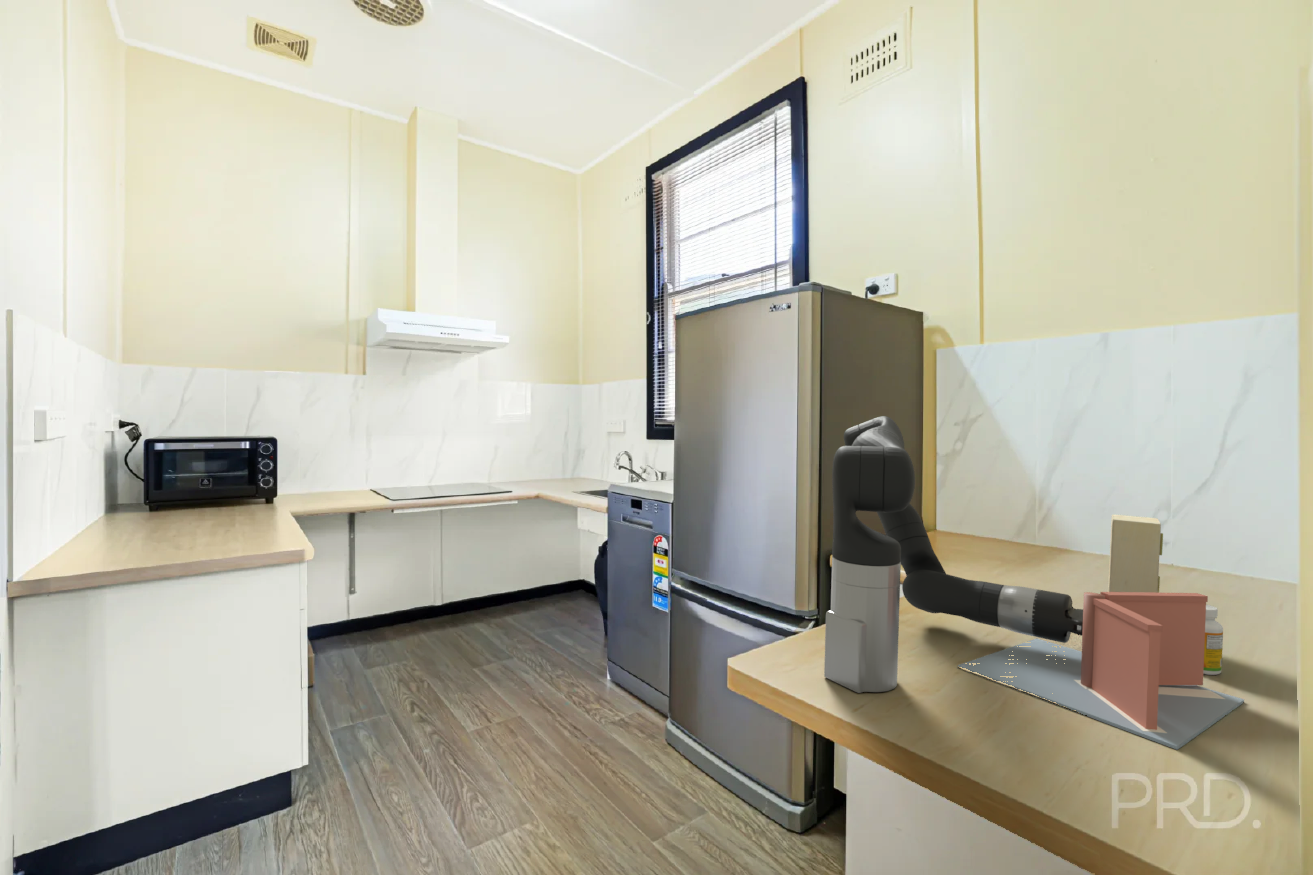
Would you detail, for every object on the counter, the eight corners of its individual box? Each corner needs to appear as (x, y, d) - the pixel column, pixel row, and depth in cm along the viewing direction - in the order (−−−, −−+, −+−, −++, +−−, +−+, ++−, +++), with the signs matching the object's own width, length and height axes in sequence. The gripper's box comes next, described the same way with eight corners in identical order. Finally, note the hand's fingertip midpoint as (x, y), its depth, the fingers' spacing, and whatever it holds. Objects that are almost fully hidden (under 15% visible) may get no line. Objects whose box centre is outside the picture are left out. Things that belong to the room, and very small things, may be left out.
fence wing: (1106, 684, 82) (1109, 594, 82) (1097, 679, 84) (1100, 591, 84) (1204, 685, 83) (1207, 596, 83) (1193, 680, 84) (1197, 592, 84)
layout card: (1177, 749, 67) (1177, 745, 67) (957, 667, 89) (957, 664, 89) (1244, 702, 80) (1244, 698, 80) (1036, 640, 102) (1036, 638, 102)
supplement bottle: (1164, 661, 94) (1166, 600, 93) (1196, 661, 94) (1198, 600, 94) (1198, 675, 88) (1200, 611, 88) (1231, 675, 89) (1234, 610, 88)
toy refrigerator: (1161, 648, 99) (1166, 523, 99) (1106, 638, 104) (1110, 518, 103) (1158, 635, 106) (1162, 518, 105) (1106, 626, 110) (1110, 513, 110)
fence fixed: (1162, 733, 71) (1166, 624, 71) (1140, 731, 71) (1144, 622, 71) (1095, 685, 84) (1098, 592, 84) (1076, 683, 85) (1080, 591, 84)
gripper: (1026, 597, 91) (1176, 625, 80) (1043, 581, 101) (1178, 604, 89) (1024, 646, 91) (1174, 680, 80) (1041, 625, 101) (1176, 653, 89)
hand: (1176, 640), depth 85 cm, fingers closed
